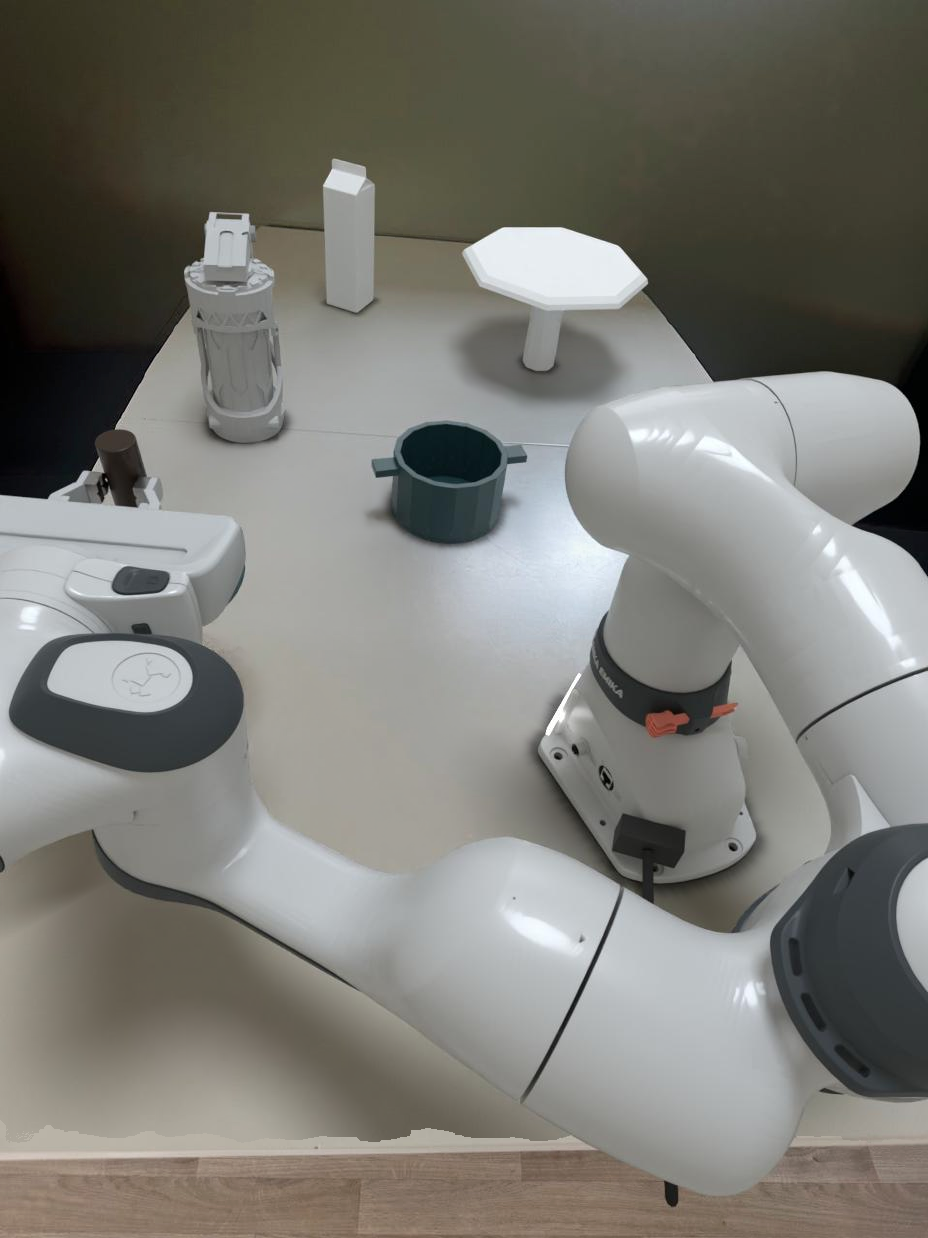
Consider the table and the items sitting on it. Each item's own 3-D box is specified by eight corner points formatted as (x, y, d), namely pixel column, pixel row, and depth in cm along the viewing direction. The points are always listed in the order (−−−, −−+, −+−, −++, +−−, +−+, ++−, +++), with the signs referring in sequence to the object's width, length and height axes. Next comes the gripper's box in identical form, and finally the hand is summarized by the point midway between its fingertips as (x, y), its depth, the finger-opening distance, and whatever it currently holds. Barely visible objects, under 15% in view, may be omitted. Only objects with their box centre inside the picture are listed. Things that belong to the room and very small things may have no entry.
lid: (255, 627, 65) (229, 489, 55) (63, 659, 62) (-5, 519, 51) (237, 513, 74) (211, 376, 64) (68, 535, 71) (12, 395, 60)
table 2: (621, 424, 119) (650, 317, 107) (437, 393, 121) (446, 284, 108) (624, 336, 139) (650, 238, 127) (466, 311, 140) (476, 210, 128)
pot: (533, 533, 100) (544, 478, 94) (385, 552, 95) (386, 496, 89) (499, 468, 109) (507, 414, 103) (361, 483, 104) (361, 427, 98)
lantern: (285, 444, 108) (269, 258, 90) (205, 444, 106) (173, 254, 88) (286, 393, 117) (273, 213, 99) (213, 392, 115) (185, 209, 97)
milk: (343, 291, 141) (341, 152, 125) (374, 300, 139) (375, 161, 123) (326, 304, 137) (321, 162, 121) (357, 313, 135) (356, 171, 119)
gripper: (-96, 634, 52) (-4, 501, 61) (222, 660, 53) (264, 526, 62) (-140, 562, 47) (-33, 431, 57) (209, 593, 48) (256, 459, 58)
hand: (125, 481), depth 60 cm, fingers closed on lid, 3 cm apart
